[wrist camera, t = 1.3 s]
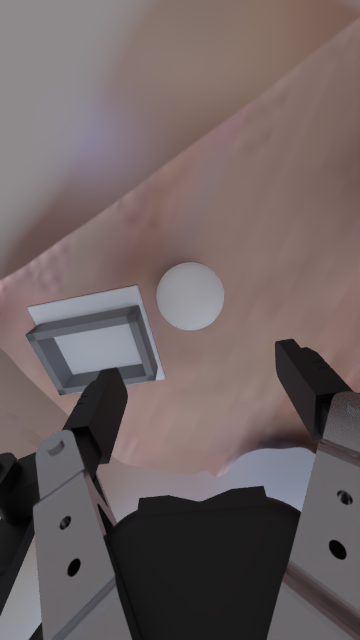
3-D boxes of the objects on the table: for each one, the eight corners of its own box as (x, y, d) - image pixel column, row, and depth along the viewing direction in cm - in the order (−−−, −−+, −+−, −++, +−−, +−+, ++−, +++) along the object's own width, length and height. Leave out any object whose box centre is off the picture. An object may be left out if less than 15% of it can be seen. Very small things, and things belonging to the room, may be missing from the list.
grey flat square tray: (137, 284, 28) (132, 293, 25) (165, 377, 35) (163, 393, 32) (28, 306, 30) (11, 317, 27) (74, 391, 36) (64, 408, 33)
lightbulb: (223, 279, 28) (244, 316, 18) (183, 306, 30) (183, 355, 20) (194, 237, 26) (200, 254, 16) (153, 269, 28) (136, 303, 18)
